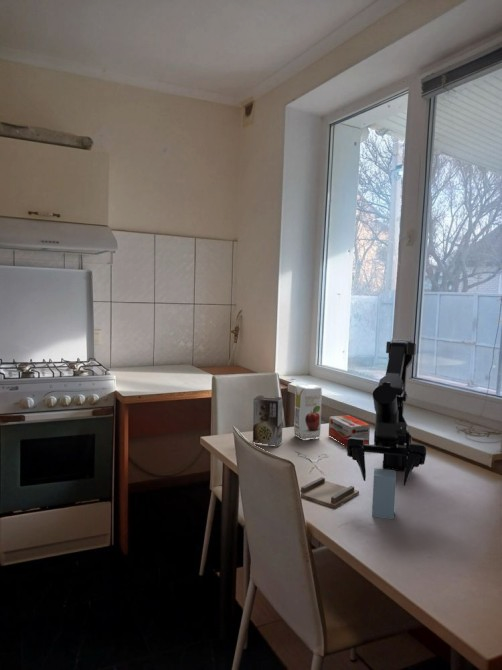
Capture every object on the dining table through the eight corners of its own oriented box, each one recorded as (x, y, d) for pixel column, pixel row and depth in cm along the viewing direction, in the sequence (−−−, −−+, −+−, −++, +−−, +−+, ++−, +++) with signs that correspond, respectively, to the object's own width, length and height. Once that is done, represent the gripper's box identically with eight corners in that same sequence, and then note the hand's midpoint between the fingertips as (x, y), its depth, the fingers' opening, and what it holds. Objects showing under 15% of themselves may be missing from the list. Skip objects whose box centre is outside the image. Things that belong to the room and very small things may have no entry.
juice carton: (291, 435, 185) (293, 384, 183) (311, 433, 188) (313, 383, 187) (301, 441, 178) (303, 388, 176) (322, 439, 181) (324, 387, 180)
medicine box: (327, 437, 185) (328, 415, 185) (347, 435, 188) (348, 414, 187) (349, 449, 171) (350, 426, 170) (370, 447, 174) (371, 424, 173)
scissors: (327, 452, 166) (334, 473, 146) (326, 454, 166) (334, 475, 147) (294, 450, 167) (298, 471, 147) (294, 453, 167) (298, 474, 147)
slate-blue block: (371, 516, 120) (373, 475, 119) (372, 507, 124) (374, 468, 124) (393, 519, 118) (395, 477, 118) (393, 510, 123) (395, 470, 122)
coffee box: (282, 442, 176) (284, 397, 175) (277, 447, 170) (278, 400, 169) (257, 439, 179) (259, 394, 178) (251, 444, 173) (253, 398, 172)
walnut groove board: (295, 495, 131) (295, 487, 131) (321, 482, 140) (321, 475, 140) (334, 508, 123) (335, 500, 123) (358, 493, 133) (359, 486, 133)
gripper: (349, 405, 126) (343, 462, 117) (427, 412, 122) (429, 471, 112) (349, 428, 135) (344, 483, 125) (423, 435, 130) (424, 493, 120)
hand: (384, 482), depth 120 cm, fingers open, 9 cm apart
